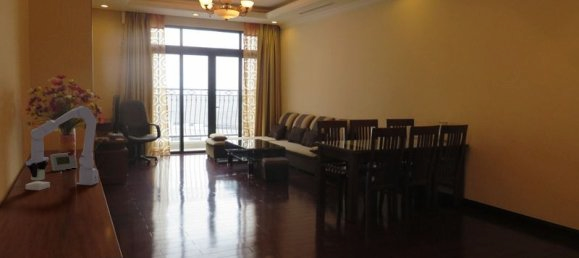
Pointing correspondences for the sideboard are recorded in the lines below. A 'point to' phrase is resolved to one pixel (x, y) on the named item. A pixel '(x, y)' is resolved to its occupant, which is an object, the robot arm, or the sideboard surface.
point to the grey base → (37, 185)
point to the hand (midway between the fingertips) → (37, 176)
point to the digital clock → (62, 161)
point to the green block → (39, 175)
